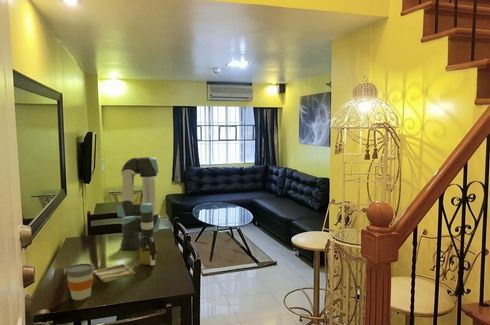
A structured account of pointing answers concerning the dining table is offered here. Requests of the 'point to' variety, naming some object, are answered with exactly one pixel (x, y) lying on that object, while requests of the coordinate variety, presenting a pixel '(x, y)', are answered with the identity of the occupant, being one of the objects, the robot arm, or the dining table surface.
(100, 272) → the holder tray
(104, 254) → the dining table surface
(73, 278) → the reusable coffee cup
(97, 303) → the dining table surface
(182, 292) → the dining table surface
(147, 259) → the flower pot
